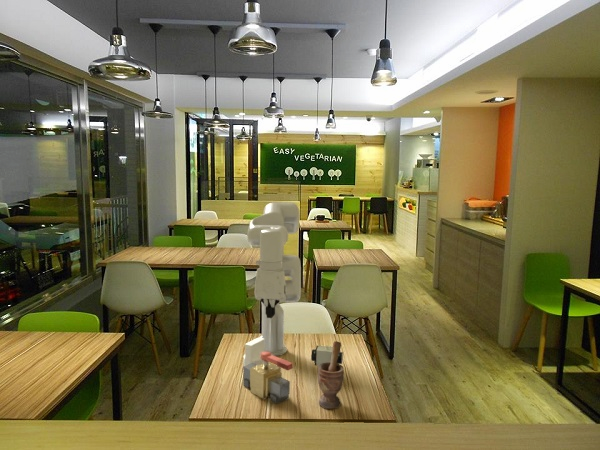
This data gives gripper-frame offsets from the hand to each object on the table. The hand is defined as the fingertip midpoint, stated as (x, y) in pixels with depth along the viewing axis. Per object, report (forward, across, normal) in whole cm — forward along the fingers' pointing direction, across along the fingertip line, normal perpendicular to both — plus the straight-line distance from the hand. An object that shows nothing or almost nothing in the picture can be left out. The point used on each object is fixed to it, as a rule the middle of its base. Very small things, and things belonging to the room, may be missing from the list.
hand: (270, 316), depth 157 cm
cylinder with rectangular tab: (+29, -11, +16) cm, 35 cm away
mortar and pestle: (+28, +22, 0) cm, 36 cm away
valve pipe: (+28, -2, 0) cm, 28 cm away
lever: (+16, +3, -2) cm, 16 cm away
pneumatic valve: (+29, +17, +19) cm, 39 cm away
